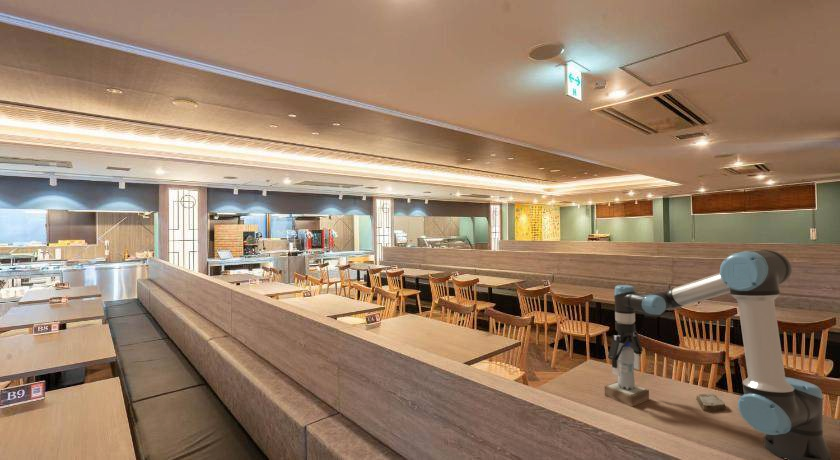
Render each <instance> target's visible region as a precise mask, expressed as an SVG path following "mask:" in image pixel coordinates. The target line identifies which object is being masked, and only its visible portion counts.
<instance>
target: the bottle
mask: <svg viewBox="0 0 840 460" xmlns="http://www.w3.org/2000/svg"><path fill="white" fill-rule="evenodd" d="M634 358H635V356H634V350H633V349H632V348H631V347H630V343H629V342H627V343H626V345H625V347H623V349H622V351H621V354H620V356H619V358H618V360H619V363H620V376H617V382H618V385H619V386H620V387H621V388H622V389H624V387H626V390H628V389H629V388H630V390H631V389H633V388H634V385H636V383H635V368H634V360H635V359H634Z"/></svg>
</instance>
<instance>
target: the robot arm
mask: <svg viewBox="0 0 840 460" xmlns="http://www.w3.org/2000/svg"><path fill="white" fill-rule="evenodd" d="M721 262H722V263H721V264H720V266H719V267H720V268H719V272H717V273H715V274H711V275H709V276H706V277H703V278H700V279H697V280H694V281H691V282H688V283H685V284H682V285H679V286H676V287H673V288H670V289H667V290H666V289H665V290H662V291H656V292H649V293H648V292H647V293H644V292H636V290H635V287H634V286H633V285H628V284H618V285H615V286H614V295H613V297H614V319H615V320H614V321H615V322H614V323H615V324H614V326H615V331H616V332H617V335H615V334H613V335H612V339H611V340H612V341H611V344H610V348H609V353H608V356H607V358H608V359H611V366H612V375H614V376H616V377H618V376H620V363H619V360H618V358H619V356H620V354H621V351H622V349H623V347H625V345H626V343H627V342H629V343H630V347H631V348H632V349H633V350H634V356H635V358H634V359H635V360H634V370H637V371H639V370H640V355H642V354H643V347H642V344H641V340H640V338H639V333H638V331H636V323H635V322H636V311H637V312H641V313H644V314H645V313H646V314H649V315H656V316H658V315H659V316H660V315H662V314H663V313H664V312H665V311H666V310H667V311H668V310H676V309H680V308H682V307H684V306H687V305H690V304H694V303H698V302H700V301H701V302H702V301H705V300H709V299H713V298H715V297H719V296H723V295H727V294H730V296H732V298H734V299H735V300H737V306H738V312H739V320H740V326H741V327H740V328H741V334H742V343H743V351H744V357H745V364H746V371H747V377H746V378H745V379H743V381H742V386H743V387H742V389H743V394H742V395H741V396H740V397H739V399H738V402H737V409H738V412H739V414H740V415H741V416H740V417H742V419H743V420H744V421H745V422H747V424H749V426H750V427H752V428H753V429H755V430H756V431H757V432H760V433H763V434H764V437H763V438H764V439H763V442H764V443H763V444H764V447H765V448H766V449H767V451H769V452H770V451H771V454H773V453H774V455H775V454H776V455H775V456H777V455H778V456H777V457H779V456H780V457H779V458H781V457H783V458H787V459H789V460H832V459H833V457H832V454H831V452H830V449H829V447H828V445H827V442H826V440H825V437H824V430H823V427H824V426H823V425H824V421H823V419H824V418H823V416H824V415H823V410H824V409H823V408H824V407H823V400H824V397H823V391H822V390H821V387H819V386H818V385H816V384H814V383H811V382H808V381H805V380H802V379H797V378H793V377H787V376H786V373H785V366H784V360H783V353H782V346H781V339H780V331H779V325H778V318H777V311H776V305H775V304H776V303H775V300H776V299H778V298H779V296H781V294H780V293H781V292H780V285H781V284H784V283H785V282H787V281H788V280H789V278H790V277H791V276H792V271H793V267H792V263H791V262H790V260H789V258H787V257H786V256H785V255H783V253H780V252H777V251H775V250H771V249H762V250H751V251H749V250H745V251H739V252H735V253H732V254H730V255H728V256H727V257H726V258H725V259H724V260H723V261H721ZM783 458H782V459H783Z"/></svg>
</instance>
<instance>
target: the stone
mask: <svg viewBox="0 0 840 460" xmlns="http://www.w3.org/2000/svg"><path fill="white" fill-rule="evenodd" d="M695 397H696V398H695V399H696V402H697V403H698V405H699V407H700V408H701V409H702V411H703V412H704V413H711V412H712V413H713V412H722V411H723V412H724V411H726V403H725V402H724V401H723V400H722V399H720V398H719V397H717V395H715V394H714V393H697V394H696V396H695Z"/></svg>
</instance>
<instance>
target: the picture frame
mask: <svg viewBox="0 0 840 460" xmlns="http://www.w3.org/2000/svg"><path fill="white" fill-rule="evenodd" d="M604 396H605V397H607V398H609V399H613V400H615V401H617V402H619V403H622V404H624V405H627V406H629V407H631V408H632V407H635V406H637V405H641V403H644V402H648V401H649V400H650V390H649V389H646V388H644V387H641V386H639V385H636V384H635V385H634V388H633V389H631V390H630V388H629V389H628V390H626V387H624V389H622V388H621V387H620V386H619V385H618V381H616V382H613V383H610V384H608V385H605V386H604Z"/></svg>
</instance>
